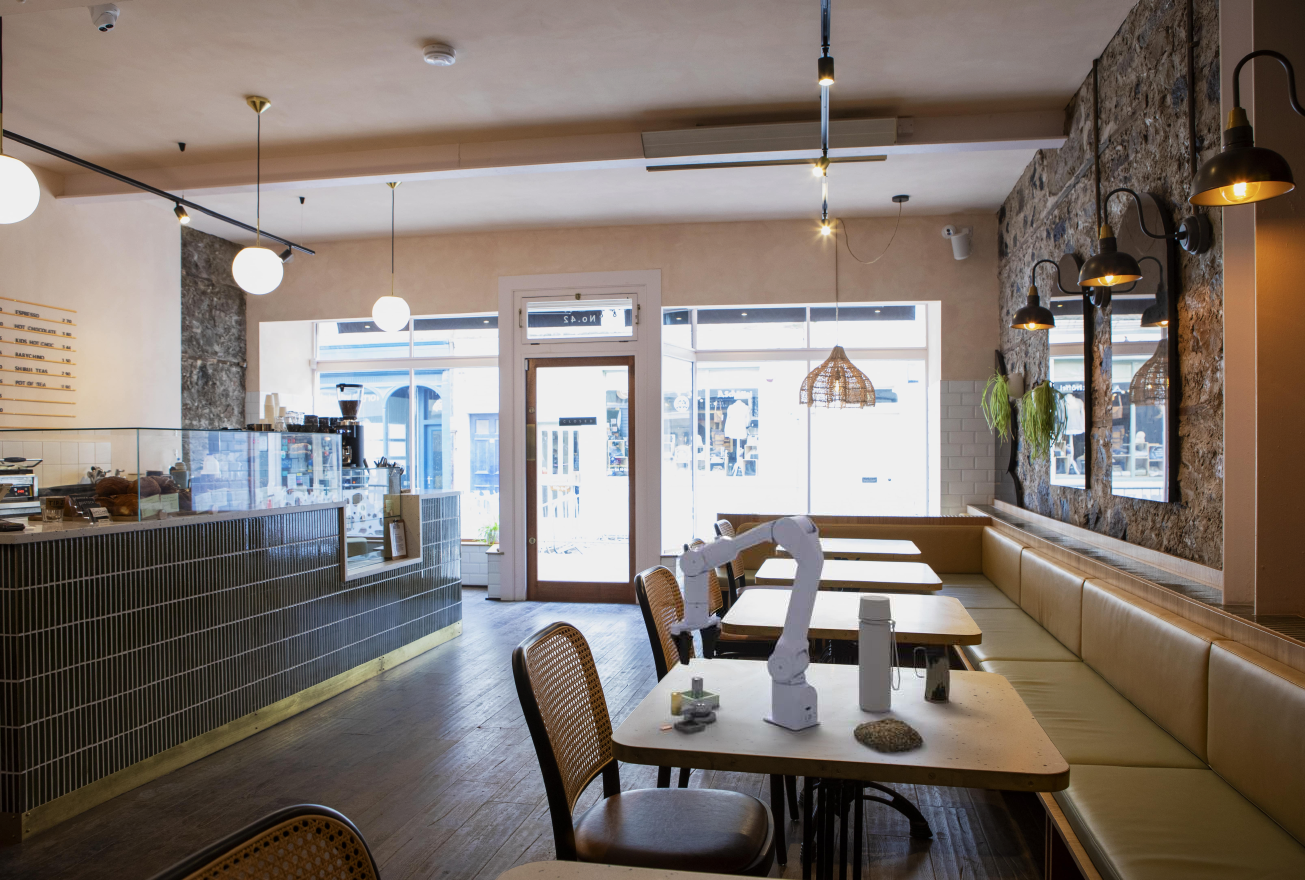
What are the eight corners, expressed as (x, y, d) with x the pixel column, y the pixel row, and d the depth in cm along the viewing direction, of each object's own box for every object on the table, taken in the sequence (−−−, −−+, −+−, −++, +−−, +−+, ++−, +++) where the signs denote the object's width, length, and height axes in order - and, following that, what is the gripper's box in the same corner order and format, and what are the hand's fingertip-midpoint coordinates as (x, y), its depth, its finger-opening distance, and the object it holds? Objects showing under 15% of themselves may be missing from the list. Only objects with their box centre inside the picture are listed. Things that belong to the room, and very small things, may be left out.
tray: (719, 705, 192) (719, 694, 193) (694, 711, 188) (694, 700, 188) (697, 698, 198) (697, 687, 198) (673, 703, 194) (673, 693, 194)
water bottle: (854, 711, 188) (853, 599, 189) (862, 701, 195) (862, 593, 196) (896, 717, 184) (895, 602, 184) (903, 707, 191) (903, 596, 191)
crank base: (730, 722, 181) (730, 717, 181) (678, 736, 172) (678, 731, 172) (701, 711, 188) (701, 707, 188) (650, 724, 179) (650, 720, 179)
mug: (948, 697, 199) (948, 646, 199) (951, 704, 194) (951, 651, 194) (913, 695, 201) (913, 644, 201) (915, 701, 196) (914, 649, 196)
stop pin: (704, 703, 192) (705, 679, 192) (694, 704, 191) (695, 680, 191) (699, 700, 195) (699, 676, 195) (689, 701, 193) (689, 677, 194)
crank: (700, 707, 187) (700, 682, 187) (716, 712, 183) (716, 687, 183) (664, 717, 180) (664, 691, 180) (680, 723, 176) (680, 696, 176)
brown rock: (877, 756, 162) (876, 730, 162) (845, 735, 173) (845, 711, 174) (935, 750, 165) (935, 724, 165) (901, 729, 177) (901, 706, 177)
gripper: (705, 595, 201) (705, 653, 201) (661, 603, 191) (661, 663, 191) (727, 599, 196) (727, 658, 196) (683, 607, 186) (683, 669, 186)
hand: (696, 661), depth 193 cm, fingers open, 7 cm apart
